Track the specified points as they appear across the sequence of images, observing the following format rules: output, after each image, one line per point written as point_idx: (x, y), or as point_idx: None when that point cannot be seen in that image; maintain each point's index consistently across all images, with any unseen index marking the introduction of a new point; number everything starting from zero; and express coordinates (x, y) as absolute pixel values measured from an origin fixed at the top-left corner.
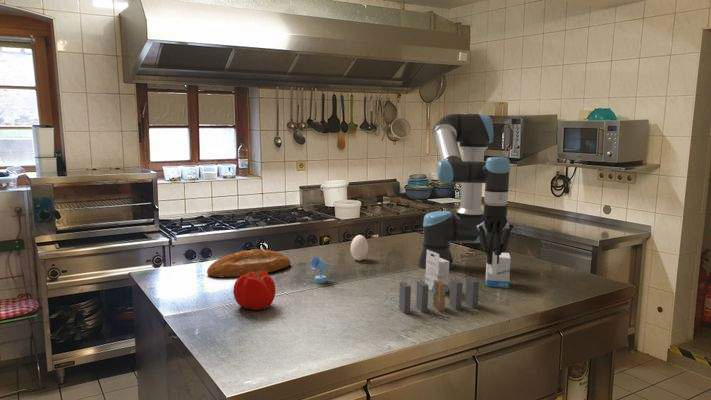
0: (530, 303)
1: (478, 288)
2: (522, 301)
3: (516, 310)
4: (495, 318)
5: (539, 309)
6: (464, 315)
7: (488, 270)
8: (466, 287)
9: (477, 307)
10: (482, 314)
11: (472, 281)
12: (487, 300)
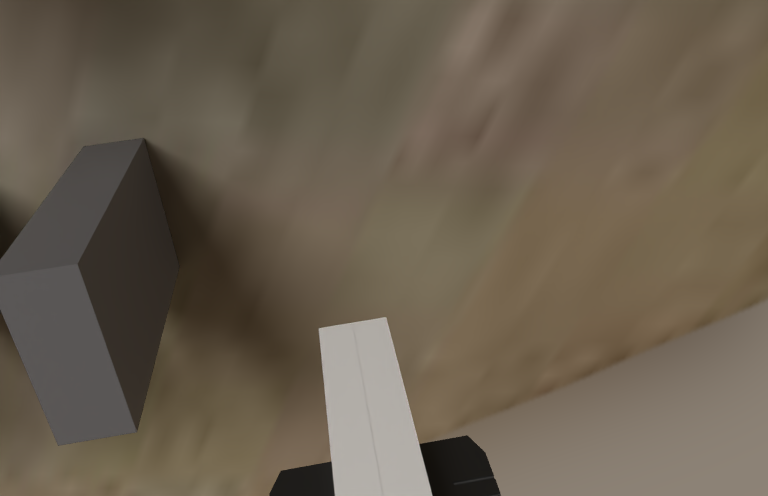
0: (698, 181)
1: (147, 378)
2: (663, 128)
3: (488, 326)
4: (256, 460)
5: (675, 310)
6: (22, 414)
7: (321, 348)
8: (34, 221)
9: (176, 267)
10: (179, 396)
11: (49, 419)
12: (342, 77)
